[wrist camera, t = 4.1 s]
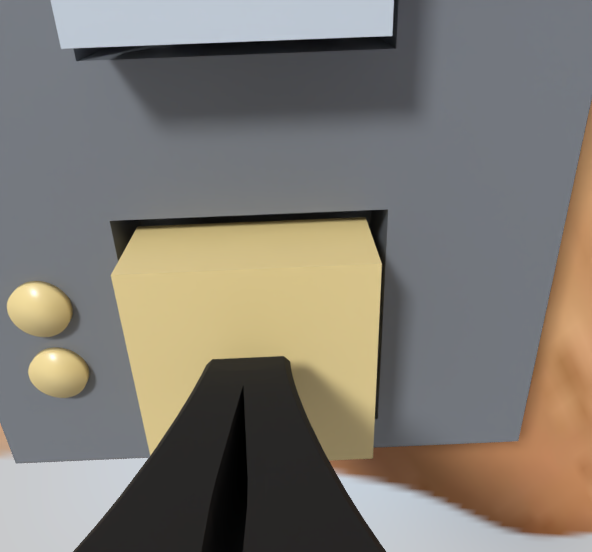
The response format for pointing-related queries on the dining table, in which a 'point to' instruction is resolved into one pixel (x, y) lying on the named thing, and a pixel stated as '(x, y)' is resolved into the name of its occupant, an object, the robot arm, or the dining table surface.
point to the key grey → (215, 21)
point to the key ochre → (256, 316)
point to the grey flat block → (293, 200)
